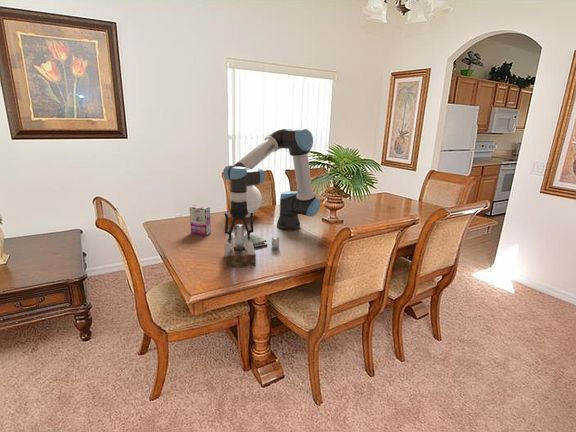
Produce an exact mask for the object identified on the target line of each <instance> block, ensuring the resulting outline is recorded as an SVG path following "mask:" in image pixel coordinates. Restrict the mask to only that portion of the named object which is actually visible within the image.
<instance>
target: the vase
mask: <svg viewBox="0 0 576 432" xmlns="http://www.w3.org/2000/svg"><path fill="white" fill-rule="evenodd" d="M262 199H263V198H262V194H261V192H260V190H259V189H258V187H256V185H252V186H247V200H246V201H247V210H248V211H249V212H253V217H254V216H255V212H256V211H258V210H259V208H260V206H261V205H262V201H263V200H262ZM231 201H232V200H231V196H230V203H231ZM245 218H250V216H249V215H248V214H247V215H246V217H245Z"/></svg>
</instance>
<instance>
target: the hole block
mask: <svg viewBox="0 0 576 432" xmlns="http://www.w3.org/2000/svg"><path fill="white" fill-rule="evenodd" d="M224 262H225V269H231V268H232V269H233V268H245V267H247V268H248V267H256V266H257V263H256V262H257V254H256V251H255V249H254V247H253V244H252V242H248V247H246V243H244V251H235V243H233V248H232V246H231V243H230V242H228V243H224Z"/></svg>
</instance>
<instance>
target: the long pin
mask: <svg viewBox="0 0 576 432" xmlns="http://www.w3.org/2000/svg"><path fill="white" fill-rule="evenodd" d="M244 227H245V225H244V224H240V223H238V224H234V233H235V237H234V238H235V251H244V236H245V235H244V234H245V231H244V230H245V229H244Z"/></svg>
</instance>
